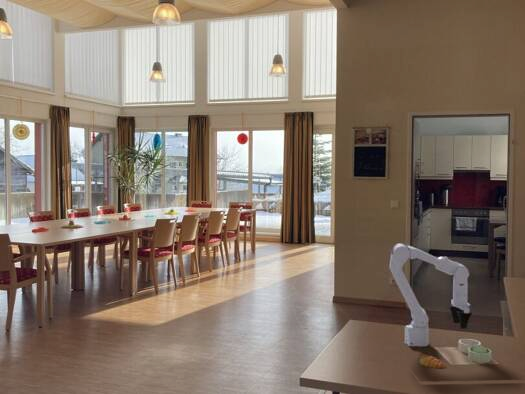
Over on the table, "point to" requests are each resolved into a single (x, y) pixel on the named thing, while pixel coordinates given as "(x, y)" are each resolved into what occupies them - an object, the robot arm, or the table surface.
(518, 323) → the table surface
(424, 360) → the pastry
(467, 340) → the cup grey
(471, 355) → the cup green
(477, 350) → the ball
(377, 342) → the table surface
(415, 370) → the table surface
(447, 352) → the board
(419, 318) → the robot arm
